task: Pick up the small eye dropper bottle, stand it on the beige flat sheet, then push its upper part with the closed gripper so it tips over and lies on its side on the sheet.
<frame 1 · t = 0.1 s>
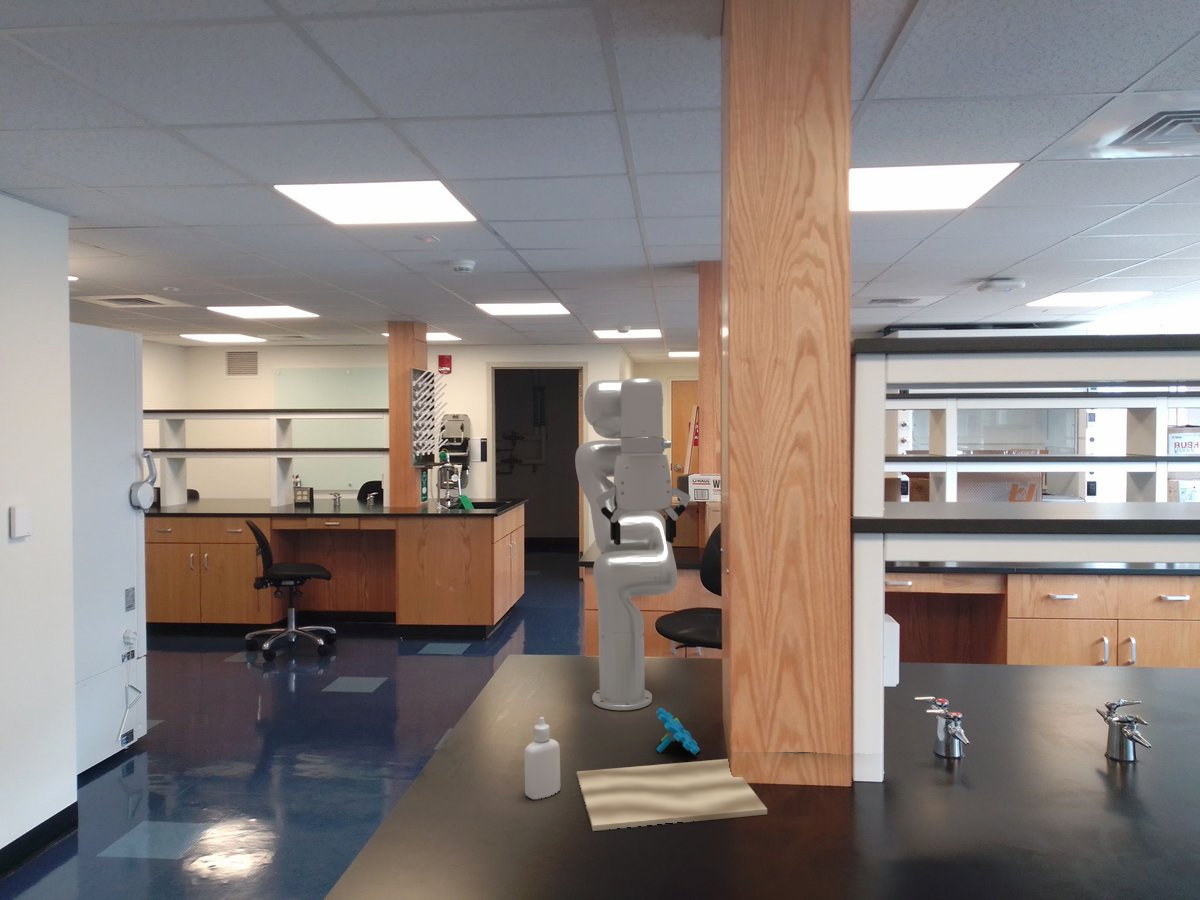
hand: (643, 542, 140), 37 cm above the countertop, tool pointing down, fingers open, 9 cm apart
gear: (677, 752, 139), on the countertop
beige flat sheet: (666, 794, 122), on the countertop
eye dropper bottle: (543, 794, 123), on the countertop
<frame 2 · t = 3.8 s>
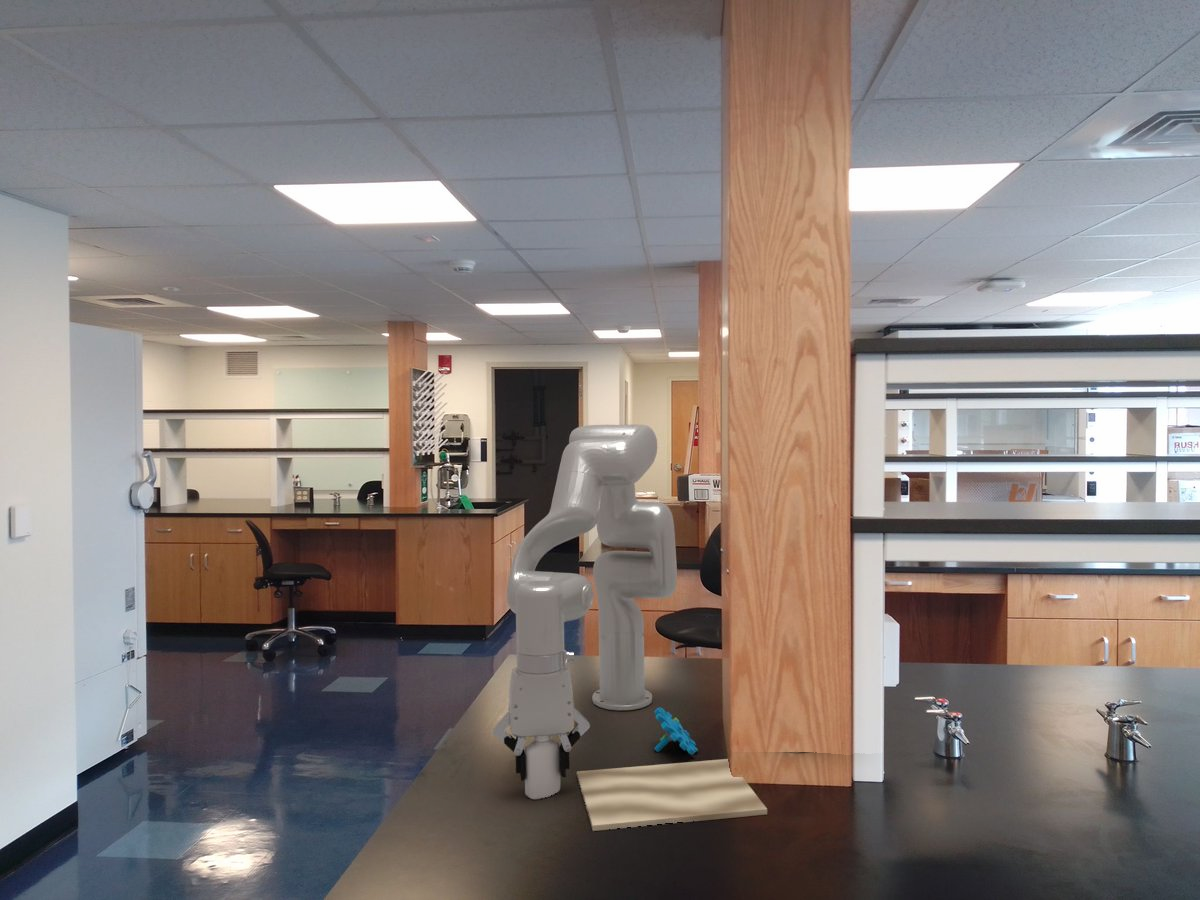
hand: (542, 774, 123), 3 cm above the countertop, tool pointing down, fingers closed on eye dropper bottle, 5 cm apart
eye dropper bottle: (542, 794, 123), on the countertop, touching gripper
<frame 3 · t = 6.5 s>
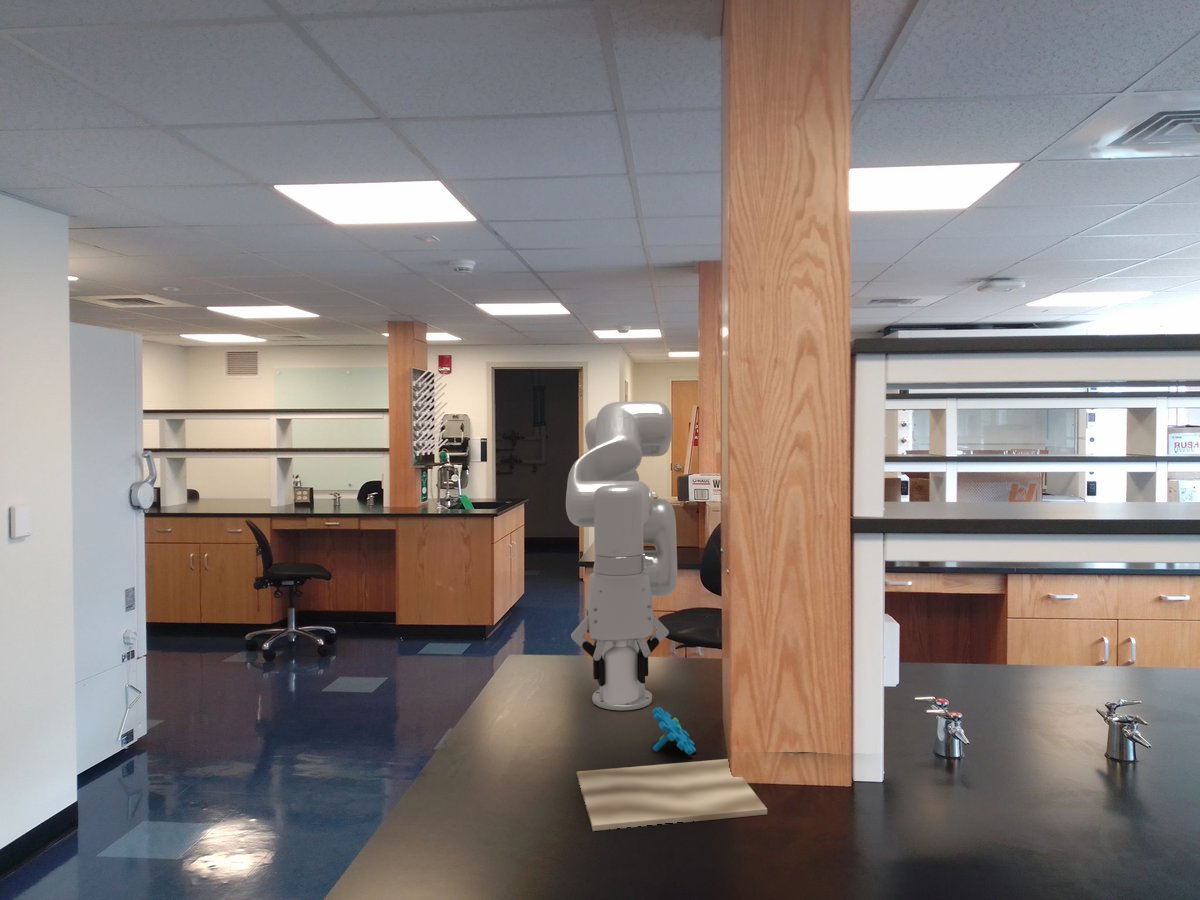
hand: (620, 681, 121), 18 cm above the countertop, tool pointing down, fingers closed on eye dropper bottle, 5 cm apart
eye dropper bottle: (621, 702, 121), point 15 cm above the countertop, touching gripper
everything else where it was.
when the fingers open (5 cm above the countertop, at t = 9.3 s): eye dropper bottle stays where it is, resting on beige flat sheet.
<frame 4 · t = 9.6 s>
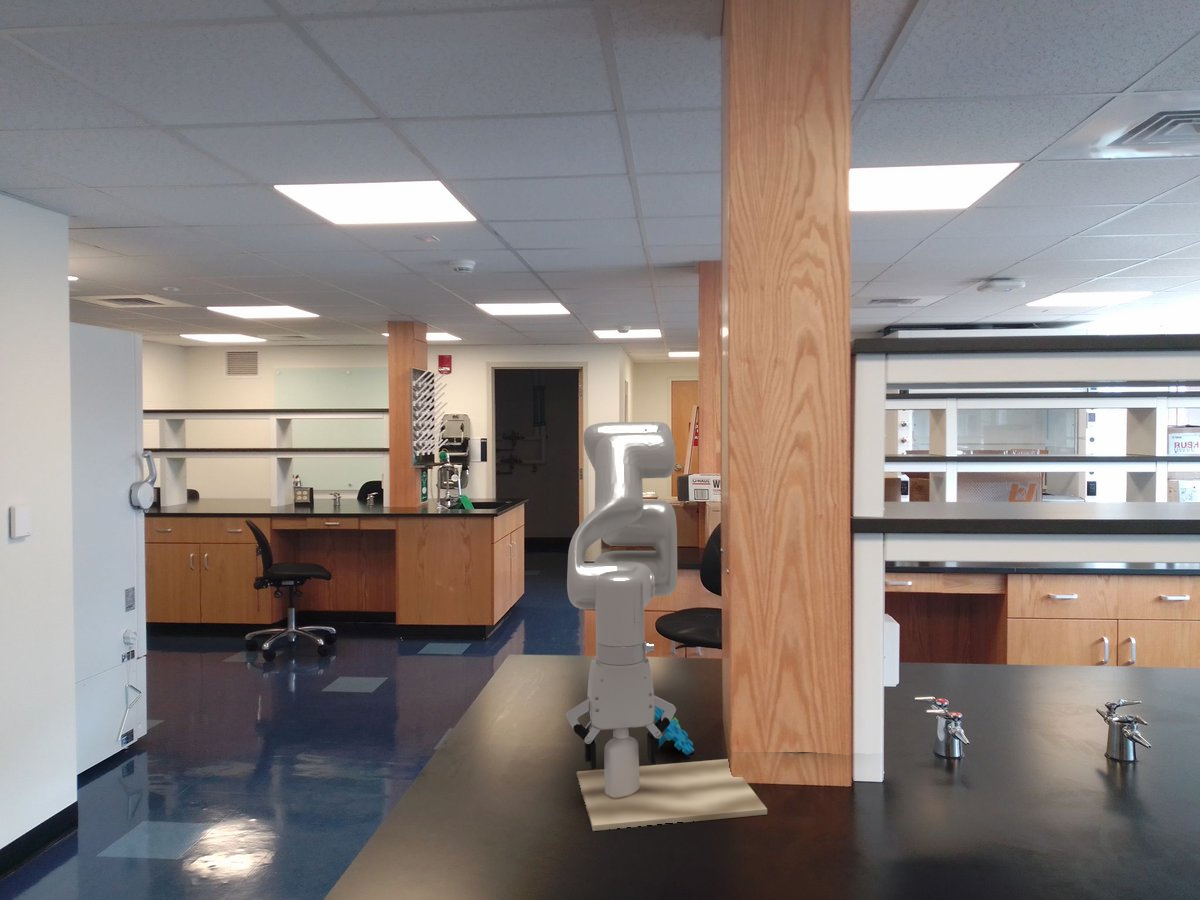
hand: (622, 763, 121), 5 cm above the countertop, tool pointing down, fingers open, 9 cm apart
eye dropper bottle: (622, 793, 121), point 1 cm above the countertop, touching beige flat sheet
everything else where it was.
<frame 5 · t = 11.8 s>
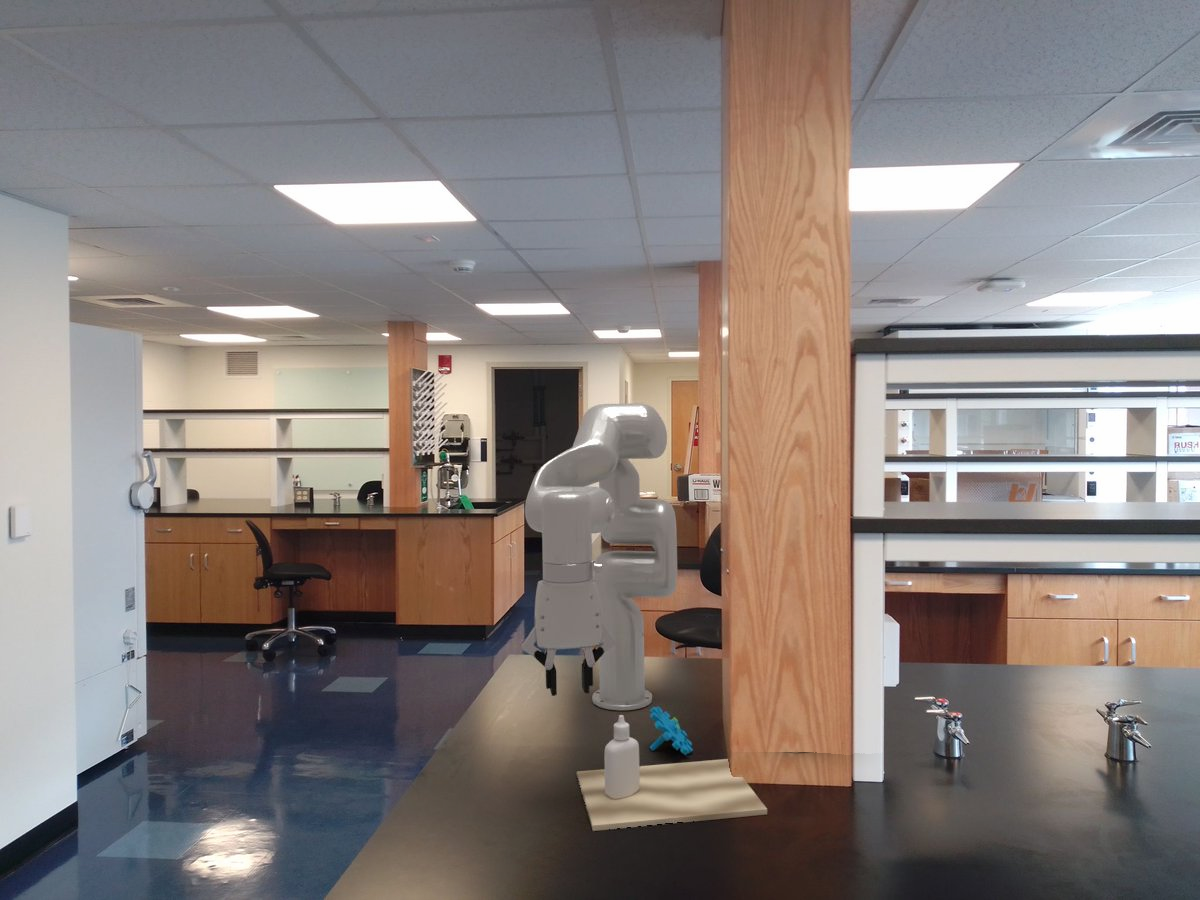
hand: (569, 690, 119), 17 cm above the countertop, tool pointing down, fingers open, 4 cm apart
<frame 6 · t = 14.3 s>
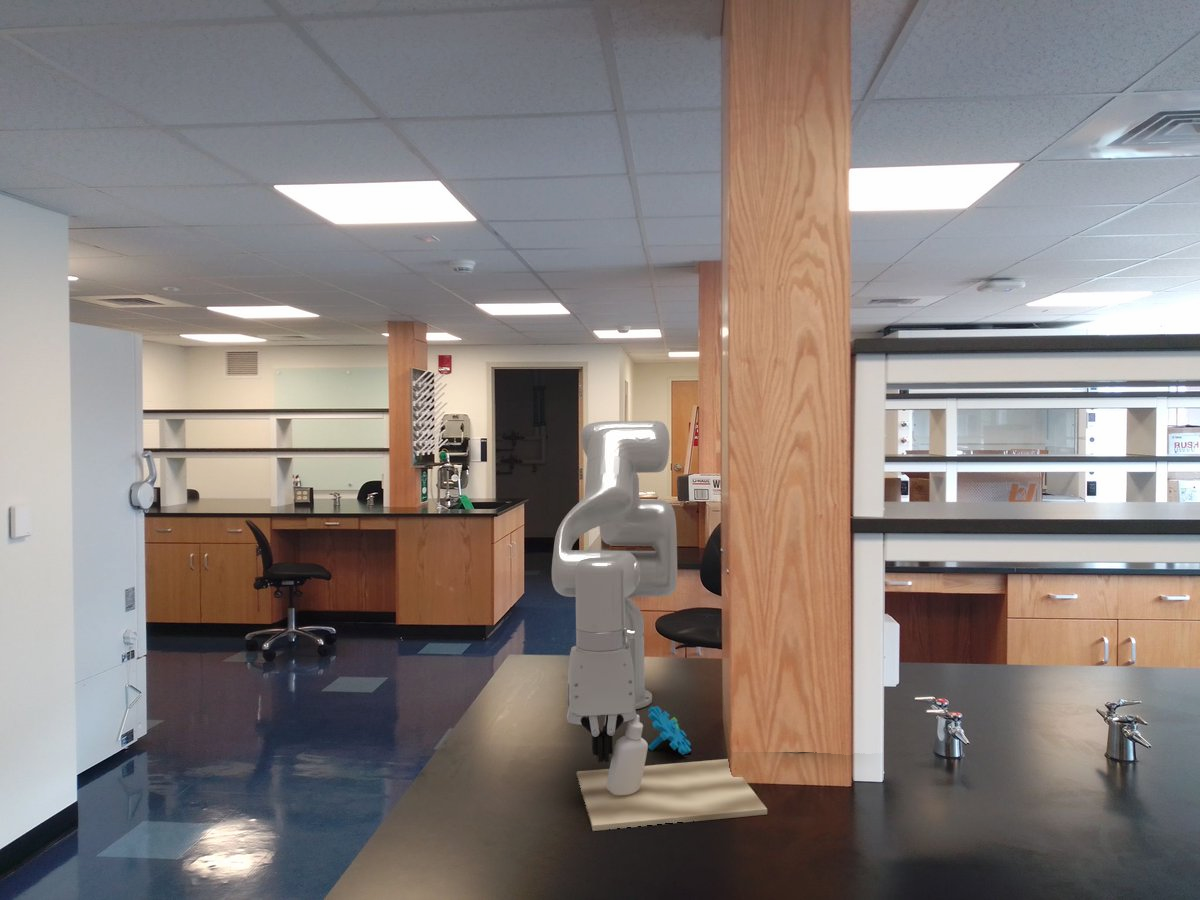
hand: (602, 758, 120), 7 cm above the countertop, tool pointing down, fingers closed
eye dropper bottle: (622, 790, 121), point 1 cm above the countertop, touching beige flat sheet, gripper
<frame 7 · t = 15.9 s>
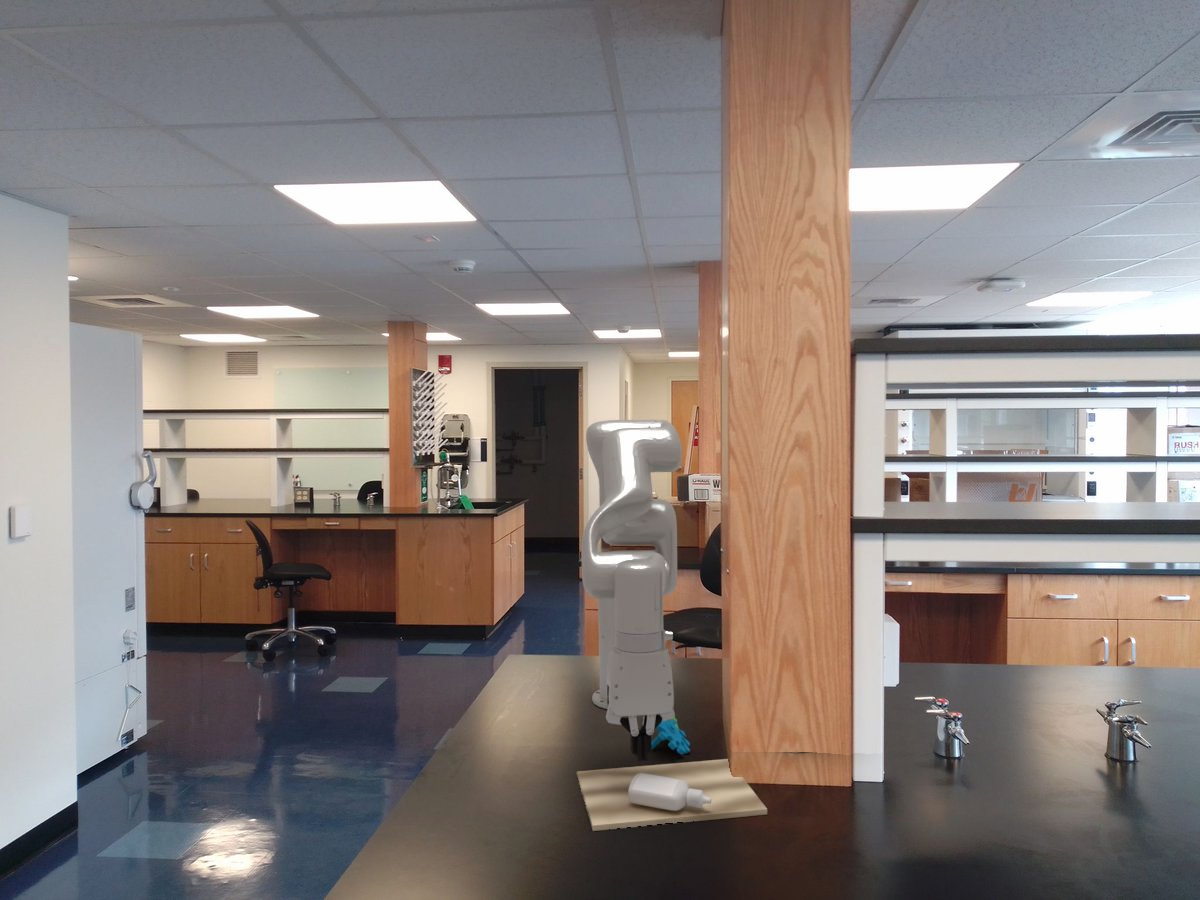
hand: (641, 757, 121), 6 cm above the countertop, tool pointing down, fingers closed
eye dropper bottle: (632, 787, 119), point 3 cm above the countertop, touching beige flat sheet
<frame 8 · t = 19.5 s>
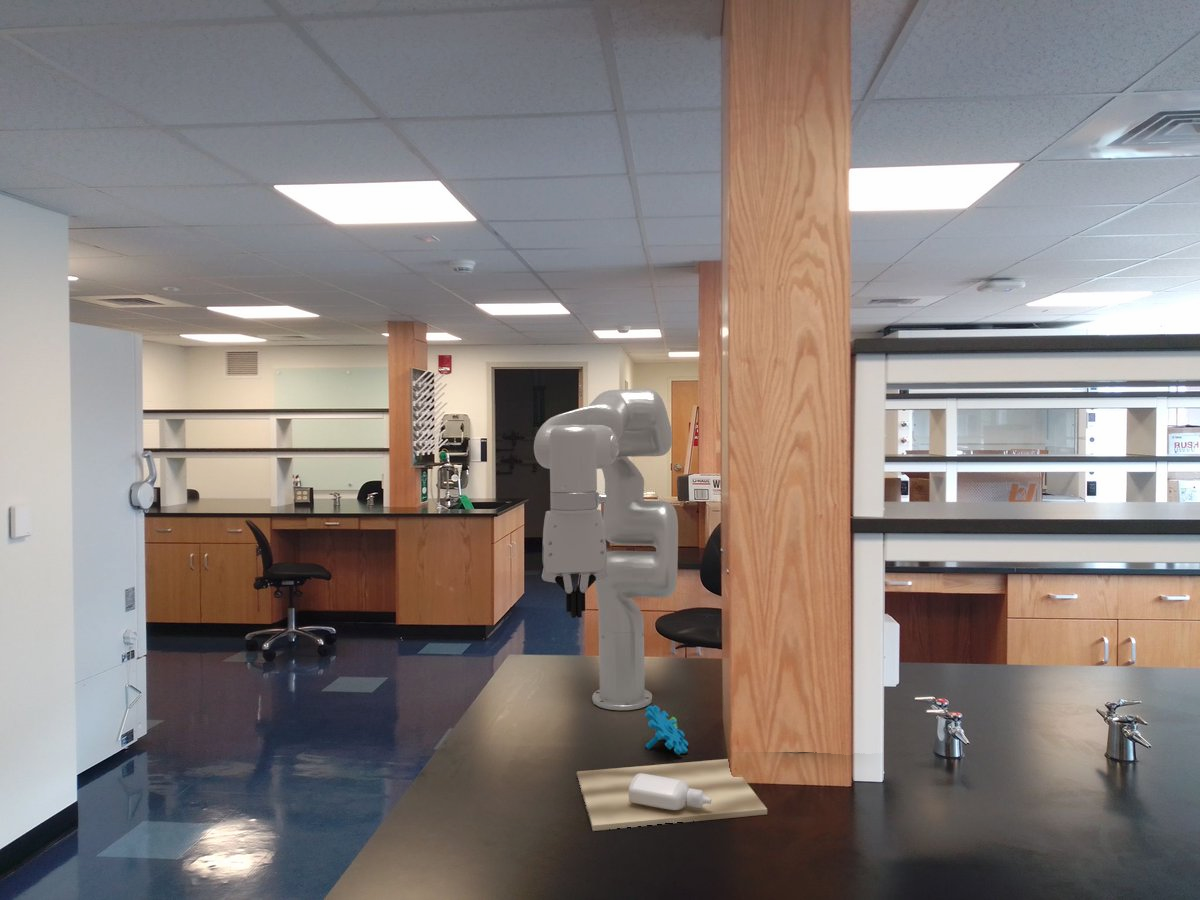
hand: (575, 615, 126), 27 cm above the countertop, tool pointing down, fingers closed
at the end: eye dropper bottle tilted 90°; eye dropper bottle inside the target area on the beige flat sheet (6.0 cm from its centre), point 2.5 cm above the beige flat sheet's base; the gripper is holding nothing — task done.
